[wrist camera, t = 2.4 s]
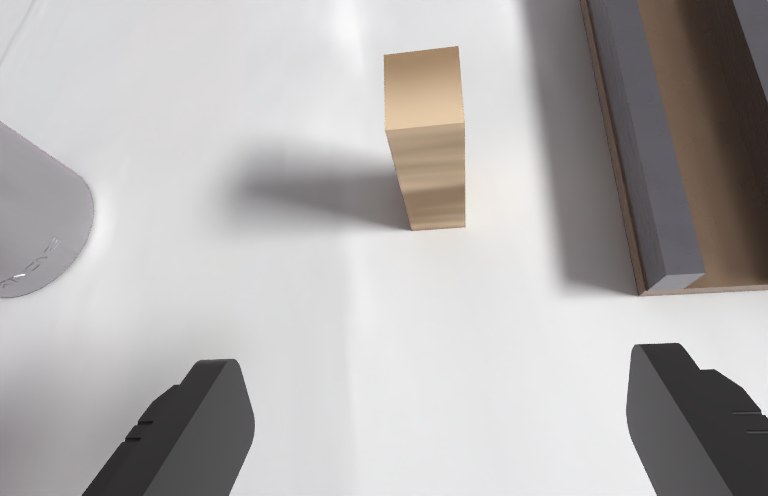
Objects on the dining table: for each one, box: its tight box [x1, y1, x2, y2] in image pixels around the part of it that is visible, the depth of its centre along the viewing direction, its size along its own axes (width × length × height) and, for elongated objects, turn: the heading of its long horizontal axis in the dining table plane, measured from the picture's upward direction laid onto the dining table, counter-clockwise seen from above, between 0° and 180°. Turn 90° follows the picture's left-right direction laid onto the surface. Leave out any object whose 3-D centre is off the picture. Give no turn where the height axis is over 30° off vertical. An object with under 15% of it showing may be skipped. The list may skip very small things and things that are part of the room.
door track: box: [580, 0, 768, 296], centre depth 27 cm, size 20×8×4 cm, turn 1°
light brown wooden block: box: [384, 46, 465, 231], centre depth 24 cm, size 4×3×10 cm
